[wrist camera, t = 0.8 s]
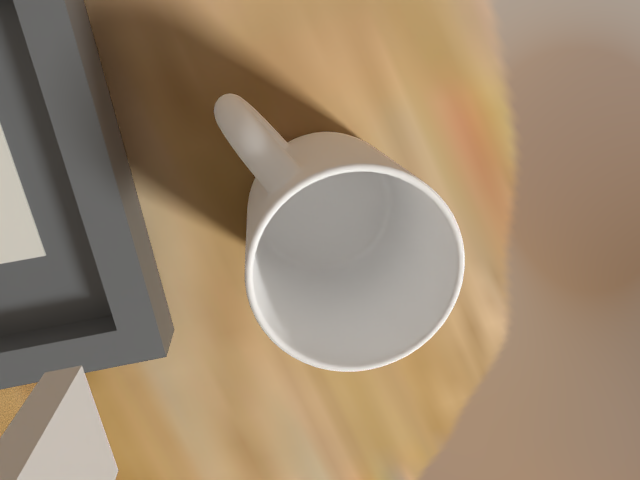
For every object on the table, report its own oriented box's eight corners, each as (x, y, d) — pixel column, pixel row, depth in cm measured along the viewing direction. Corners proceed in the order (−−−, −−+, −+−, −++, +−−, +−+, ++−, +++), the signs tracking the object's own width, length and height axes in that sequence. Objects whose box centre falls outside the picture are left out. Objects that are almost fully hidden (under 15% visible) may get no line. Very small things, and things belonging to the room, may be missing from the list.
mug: (166, 141, 27) (118, 184, 18) (291, 35, 27) (312, 19, 17) (311, 302, 31) (337, 410, 22) (425, 213, 30) (505, 284, 21)
